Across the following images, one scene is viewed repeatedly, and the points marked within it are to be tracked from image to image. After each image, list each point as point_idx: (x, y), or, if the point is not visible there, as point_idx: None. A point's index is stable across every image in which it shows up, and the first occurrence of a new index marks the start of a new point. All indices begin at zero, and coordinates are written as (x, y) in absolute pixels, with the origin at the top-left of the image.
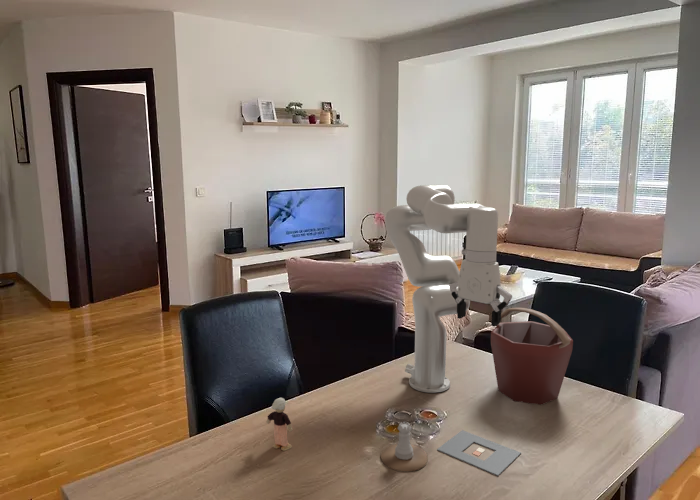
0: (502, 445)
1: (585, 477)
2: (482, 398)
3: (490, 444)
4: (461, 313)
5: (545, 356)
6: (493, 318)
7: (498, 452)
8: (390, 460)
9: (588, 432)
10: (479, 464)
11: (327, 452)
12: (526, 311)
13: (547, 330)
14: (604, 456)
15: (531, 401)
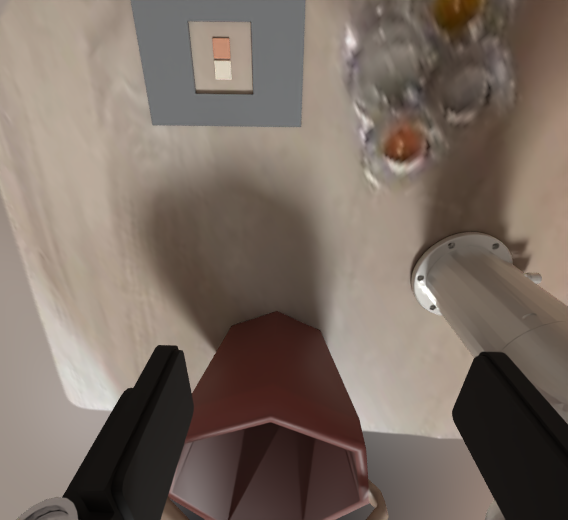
0: (197, 125)
1: (21, 128)
2: (331, 286)
3: (218, 110)
4: (494, 403)
5: None
6: (131, 405)
7: (186, 88)
8: None
9: (120, 286)
10: None
11: None
12: None
13: (258, 512)
14: (52, 226)
15: (246, 323)
